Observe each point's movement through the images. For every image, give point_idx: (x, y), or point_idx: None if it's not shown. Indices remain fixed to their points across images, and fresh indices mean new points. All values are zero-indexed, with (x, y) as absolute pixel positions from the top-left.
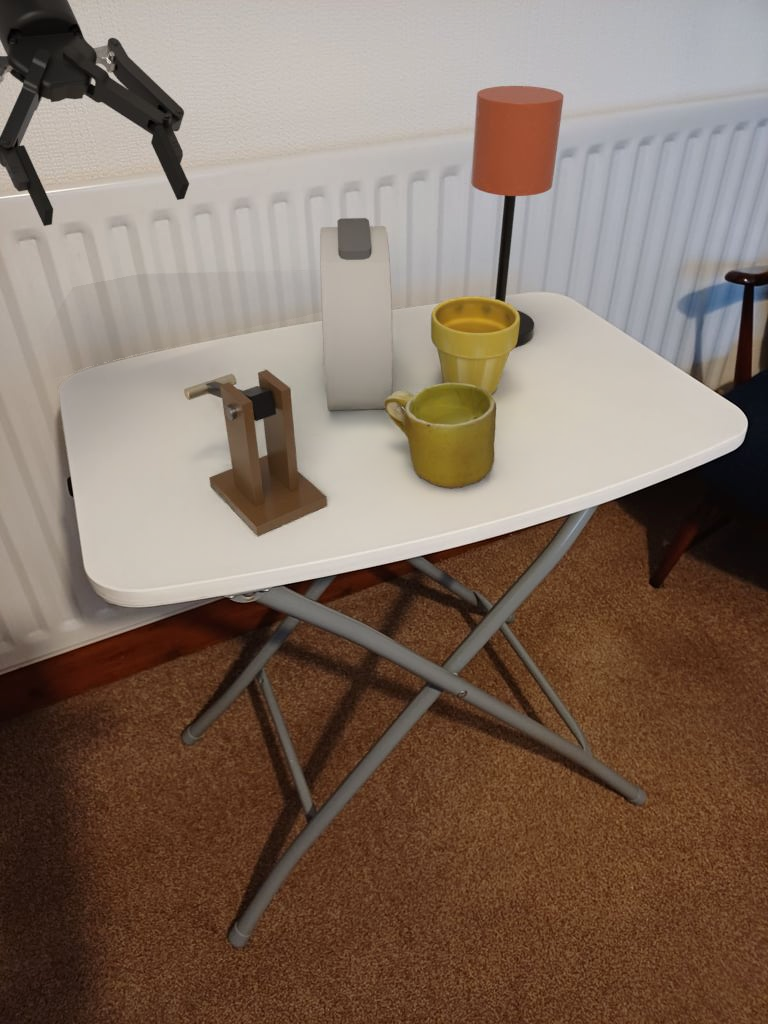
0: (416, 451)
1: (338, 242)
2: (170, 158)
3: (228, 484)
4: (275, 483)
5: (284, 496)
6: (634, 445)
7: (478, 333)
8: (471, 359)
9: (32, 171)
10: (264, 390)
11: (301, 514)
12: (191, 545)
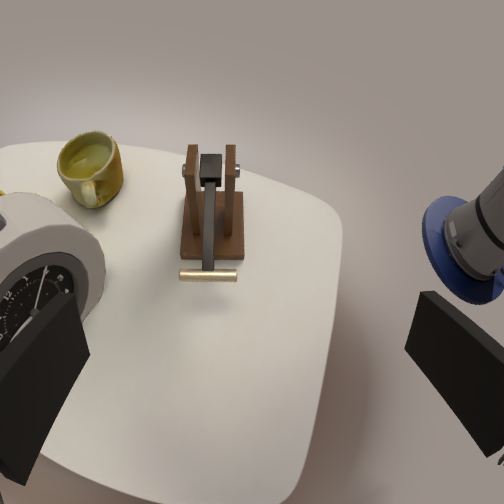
0: (120, 169)
1: None
2: (35, 335)
3: (235, 239)
4: None
5: None
6: (28, 158)
7: (4, 194)
8: None
9: (486, 342)
10: (204, 157)
11: None
12: (283, 212)
